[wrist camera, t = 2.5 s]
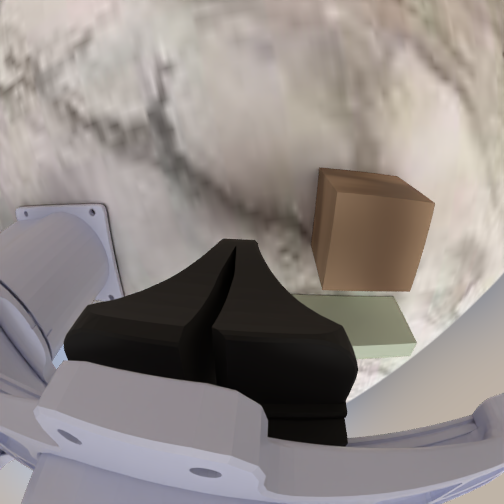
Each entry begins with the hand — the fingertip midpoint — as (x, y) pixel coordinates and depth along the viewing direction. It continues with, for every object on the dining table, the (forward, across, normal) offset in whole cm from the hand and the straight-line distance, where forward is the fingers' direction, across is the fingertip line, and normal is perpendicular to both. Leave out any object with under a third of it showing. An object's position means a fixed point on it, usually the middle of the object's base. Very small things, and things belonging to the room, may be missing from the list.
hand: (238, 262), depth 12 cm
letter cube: (+7, -6, 0) cm, 9 cm away
